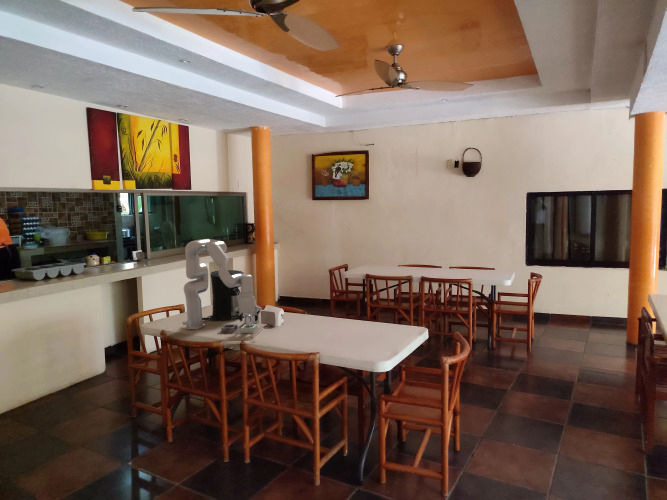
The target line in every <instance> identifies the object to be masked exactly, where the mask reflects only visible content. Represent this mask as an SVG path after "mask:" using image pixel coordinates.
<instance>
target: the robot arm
mask: <svg viewBox="0 0 667 500" xmlns="http://www.w3.org/2000/svg"><path fill="white" fill-rule="evenodd" d="M227 249H228V247H227V244H226V243H225V242H224V241H222V240H217V239H211V238H204V239H197V240H192V241H190V242H188V243H187V244H186V246H185V248H184V251H185V275H186V278H188V279H190V281H188V282H186V283H185V284H184V286H183V292H184V296H185V302H186V303H185V304H186V315H187V317H186V318H187V321H185V320H183V321H182V323H181V324H182V325H185V329H186V330H189V329H195V330H200V328H201V329H204V328H205V326H206V324H205V323H204V322H203V321H204V320H202V318H203V311H202V309H203V308H202V300H201V297H200V296H199V294H203V293H205V292H206V291H207V290H208V288H209V268H208V266H207V265H206V264H205V263H202V262H200V256H199V254H200V253H207V254H208V255H209V257H210V258H211V259H212V261H213V262H214V263H215V264H216V266H217V271H218V273H219V277H220V278H221V280H222V281H223V283H224V284H225V285H226V286H227V287H229V288H232V287H236V286H240V285H241V287H240V292H241V293H239V295H241V297H240V301H239V306H238V307H236V308H235V311H236V313H237V314H238V315H239V318H238V319H239V322H240V323H241V322H244V321H243V320H244V317H243V316H242V313H254V314H255V322H256V321H257V320H258V314H259V315H260V313H261V311H262V309H263V307H261V306H259V305H257V302H256V297H255V295H254V284H253V283H254V281H253V275H251V274H245V273H243V274H234V275H230V274H229V272H228V271H227V270H228V269H227V265H228V264H229V262H230V258H229V257H228V255H227V254H226V252H227ZM238 309H239V311H240V312H239V311H238ZM257 309H259V311H258V312H257V311H256V310H257Z"/></svg>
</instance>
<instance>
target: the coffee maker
mask: <svg viewBox="0 0 667 500" xmlns="http://www.w3.org/2000/svg"><path fill="white" fill-rule="evenodd" d="M227 271H228V272H229V274H230V275H234V274H245V272H244V271H241V270H231V269H227ZM210 282H211V292H212V293H211V295H212V314H211V315H209V316H207V317H202V321H208V320H211V321H213V322H214V321H215V322H216V321H217V322H218V321H231V320H235V319H237V320H238V319H239V315H238V314H237V313H236V311H235V308H236V307H238V306H239V301H240V297H241V295H239V293H241V289H239V288H241V285H240V286H236V287H232V288H229V287H227V286H226V285H225V284H224V283H223V281H222V280H221V278H220V277H219V273H218V270H214V271H211V272H210ZM238 311H239V309H238ZM239 312H240V311H239ZM242 316H243V318H244V313H242Z"/></svg>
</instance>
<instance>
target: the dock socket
mask: <svg viewBox="0 0 667 500" xmlns="http://www.w3.org/2000/svg"><path fill="white" fill-rule="evenodd" d="M240 328H241V333H254V332H255V331H256V330H257V328H258V324H257V323H254V324H252V327H246V323H244V325H243V326H241V327H240Z"/></svg>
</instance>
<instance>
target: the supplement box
mask: <svg viewBox="0 0 667 500" xmlns="http://www.w3.org/2000/svg"><path fill="white" fill-rule="evenodd" d="M256 311H257V312H258V311H259V309H257V310H256ZM245 315H252V324H257V323H260V313H259V314H258V320H257V321H256V322H255V314H254V313H244V317H243V320H244V321H243V323H244V324H246V323H245Z"/></svg>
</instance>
